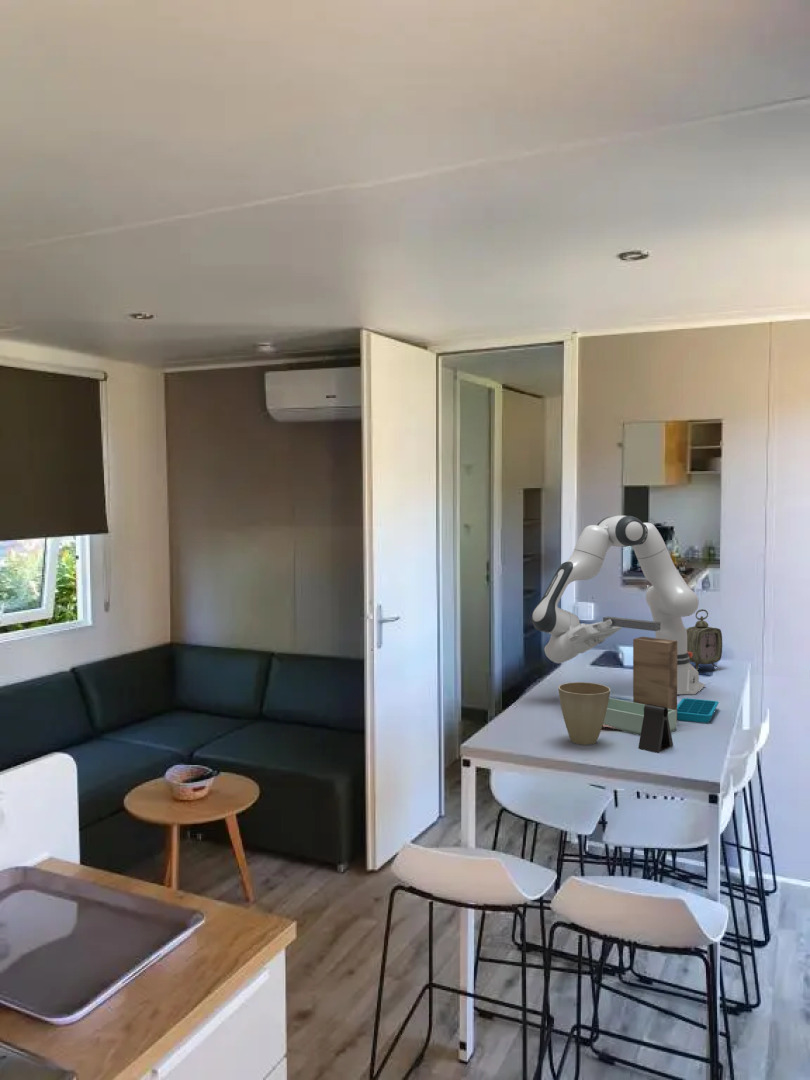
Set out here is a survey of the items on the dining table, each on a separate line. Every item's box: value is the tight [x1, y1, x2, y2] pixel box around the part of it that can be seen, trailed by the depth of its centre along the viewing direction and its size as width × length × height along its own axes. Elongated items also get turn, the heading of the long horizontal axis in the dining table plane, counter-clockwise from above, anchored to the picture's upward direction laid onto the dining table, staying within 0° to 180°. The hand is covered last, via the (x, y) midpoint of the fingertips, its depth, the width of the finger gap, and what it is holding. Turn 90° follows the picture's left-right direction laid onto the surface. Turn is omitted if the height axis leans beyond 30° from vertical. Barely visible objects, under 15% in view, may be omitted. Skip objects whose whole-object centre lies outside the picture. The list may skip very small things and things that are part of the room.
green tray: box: [603, 697, 678, 736], centre depth 261 cm, size 13×28×6 cm, turn 45°
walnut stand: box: [632, 636, 678, 710], centre depth 265 cm, size 6×12×26 cm, turn 45°
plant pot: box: [557, 681, 611, 746], centre depth 244 cm, size 15×15×16 cm
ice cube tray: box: [677, 697, 719, 724], centre depth 273 cm, size 12×20×3 cm, turn 153°
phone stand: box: [637, 704, 674, 754], centre depth 238 cm, size 9×6×12 cm, turn 134°
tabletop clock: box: [686, 608, 723, 671], centre depth 339 cm, size 14×9×25 cm, turn 119°
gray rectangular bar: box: [602, 616, 660, 632], centre depth 270 cm, size 3×19×2 cm, turn 45°
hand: (615, 620), depth 274 cm, fingers closed on gray rectangular bar, 3 cm apart
